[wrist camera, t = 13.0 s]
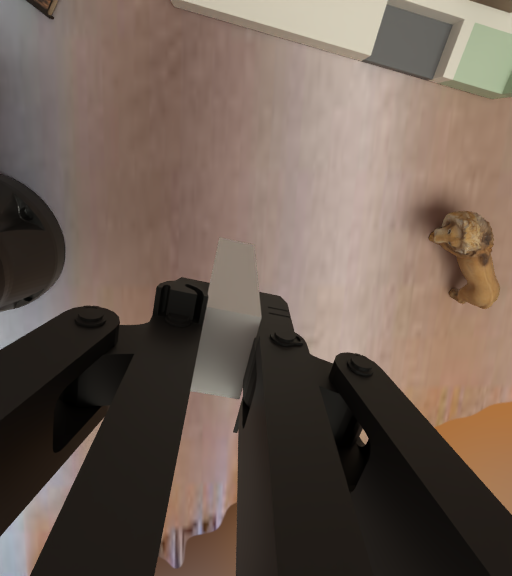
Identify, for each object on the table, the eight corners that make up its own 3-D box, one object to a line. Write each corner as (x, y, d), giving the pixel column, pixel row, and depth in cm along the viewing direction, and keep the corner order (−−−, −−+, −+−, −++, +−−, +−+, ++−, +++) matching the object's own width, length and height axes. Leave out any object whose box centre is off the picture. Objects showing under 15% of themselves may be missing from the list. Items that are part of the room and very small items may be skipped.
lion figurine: (402, 216, 42) (441, 238, 34) (445, 187, 41) (496, 202, 33) (456, 309, 47) (501, 348, 39) (496, 286, 46) (551, 321, 38)
